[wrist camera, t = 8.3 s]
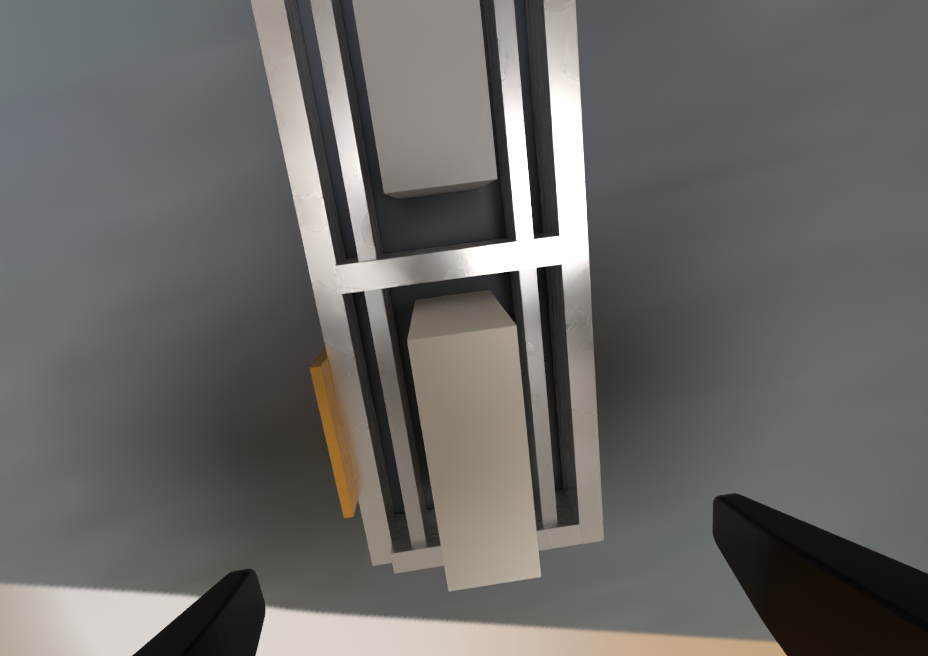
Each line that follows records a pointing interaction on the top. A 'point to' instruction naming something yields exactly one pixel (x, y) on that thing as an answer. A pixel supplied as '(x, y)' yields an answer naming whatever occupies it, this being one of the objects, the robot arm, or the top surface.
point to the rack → (445, 273)
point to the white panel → (475, 437)
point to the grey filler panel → (427, 94)
